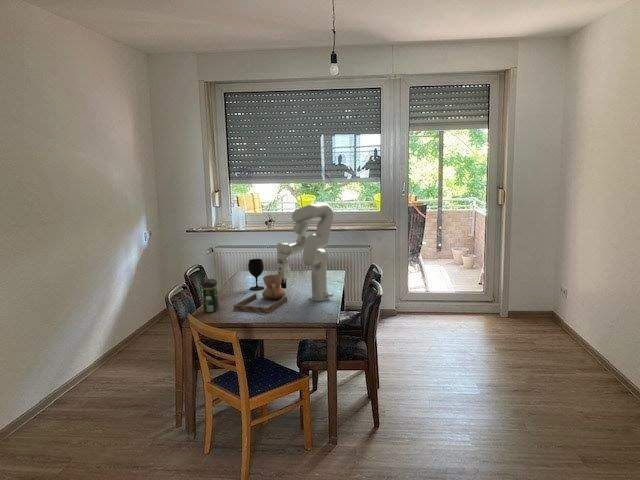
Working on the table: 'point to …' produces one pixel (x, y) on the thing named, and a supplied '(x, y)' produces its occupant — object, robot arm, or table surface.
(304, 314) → the table surface
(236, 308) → the walnut bay
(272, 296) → the ceramic jug
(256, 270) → the wine glass
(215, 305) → the coffee jar
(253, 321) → the table surface
